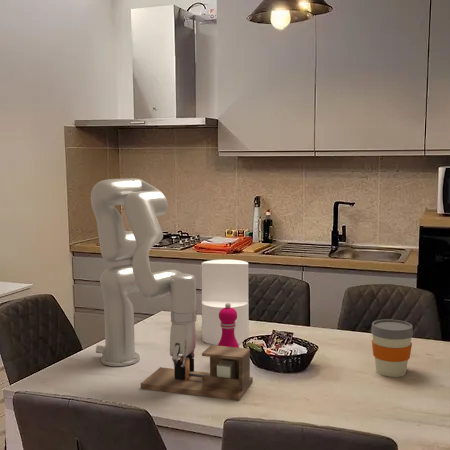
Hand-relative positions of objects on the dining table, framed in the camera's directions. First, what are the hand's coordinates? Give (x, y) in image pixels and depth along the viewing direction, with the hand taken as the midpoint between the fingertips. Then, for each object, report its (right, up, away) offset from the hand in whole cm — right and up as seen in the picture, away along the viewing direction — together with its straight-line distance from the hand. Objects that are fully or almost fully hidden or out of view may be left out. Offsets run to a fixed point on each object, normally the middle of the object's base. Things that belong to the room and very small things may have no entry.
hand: (184, 374), depth 179 cm
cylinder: (+12, +2, +44) cm, 46 cm away
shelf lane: (+4, -3, -1) cm, 5 cm away
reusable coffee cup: (+64, -2, +9) cm, 64 cm away
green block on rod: (+6, -1, -2) cm, 7 cm away
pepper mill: (+13, -1, +18) cm, 22 cm away
